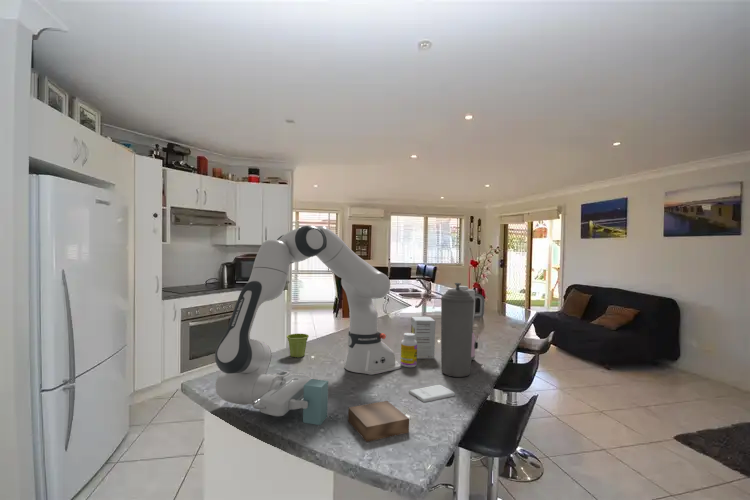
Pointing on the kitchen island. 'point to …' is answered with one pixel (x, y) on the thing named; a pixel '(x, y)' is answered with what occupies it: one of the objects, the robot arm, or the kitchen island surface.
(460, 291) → the canister
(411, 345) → the supplement bottle
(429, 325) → the supplement box
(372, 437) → the walnut block
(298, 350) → the plant pot
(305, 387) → the teal block
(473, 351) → the blender
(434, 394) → the external hard drive
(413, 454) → the kitchen island surface
